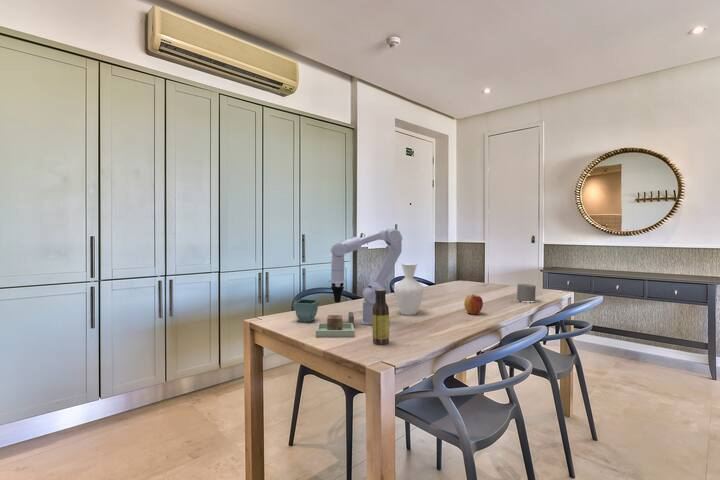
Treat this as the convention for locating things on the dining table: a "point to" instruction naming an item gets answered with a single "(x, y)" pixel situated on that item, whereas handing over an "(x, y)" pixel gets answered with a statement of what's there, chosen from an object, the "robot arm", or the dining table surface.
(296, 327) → the dining table surface
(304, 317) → the flower pot
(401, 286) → the vase
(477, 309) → the apple
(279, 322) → the dining table surface
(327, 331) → the tray
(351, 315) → the block
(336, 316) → the brown block
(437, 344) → the dining table surface
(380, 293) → the sauce bottle
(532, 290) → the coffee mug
